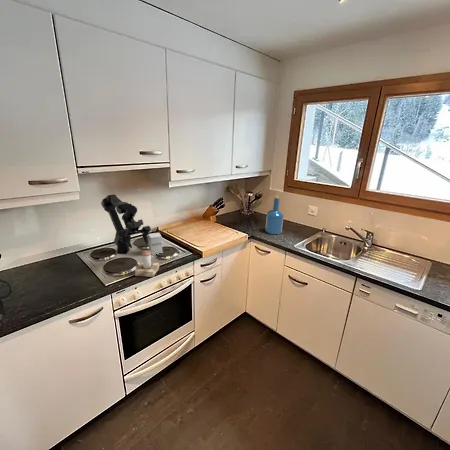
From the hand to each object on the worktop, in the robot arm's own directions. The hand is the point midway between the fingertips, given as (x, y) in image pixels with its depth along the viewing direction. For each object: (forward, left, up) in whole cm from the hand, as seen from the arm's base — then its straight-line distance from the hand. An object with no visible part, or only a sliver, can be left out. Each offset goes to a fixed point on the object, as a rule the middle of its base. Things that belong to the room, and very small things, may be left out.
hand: (139, 245), depth 146 cm
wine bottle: (+83, +72, -14) cm, 110 cm away
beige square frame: (+6, -5, -13) cm, 16 cm away
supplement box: (+2, +20, -14) cm, 24 cm away
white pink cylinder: (+6, -5, -13) cm, 15 cm away
